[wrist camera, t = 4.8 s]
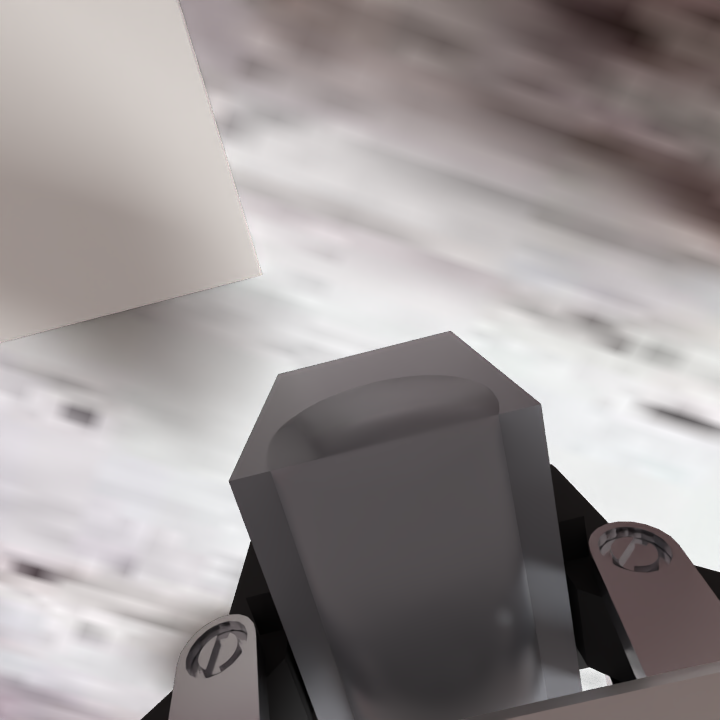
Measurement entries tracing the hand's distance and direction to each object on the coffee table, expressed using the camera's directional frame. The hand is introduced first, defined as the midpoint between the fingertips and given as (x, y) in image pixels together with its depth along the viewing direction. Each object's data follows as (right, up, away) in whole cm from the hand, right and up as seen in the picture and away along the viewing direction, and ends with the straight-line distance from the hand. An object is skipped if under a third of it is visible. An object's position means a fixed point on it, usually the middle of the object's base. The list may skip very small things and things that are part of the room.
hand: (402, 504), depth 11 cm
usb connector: (0, -1, +1) cm, 1 cm away
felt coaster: (-13, +11, +6) cm, 18 cm away
